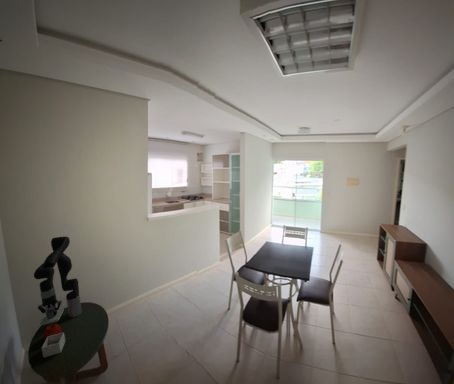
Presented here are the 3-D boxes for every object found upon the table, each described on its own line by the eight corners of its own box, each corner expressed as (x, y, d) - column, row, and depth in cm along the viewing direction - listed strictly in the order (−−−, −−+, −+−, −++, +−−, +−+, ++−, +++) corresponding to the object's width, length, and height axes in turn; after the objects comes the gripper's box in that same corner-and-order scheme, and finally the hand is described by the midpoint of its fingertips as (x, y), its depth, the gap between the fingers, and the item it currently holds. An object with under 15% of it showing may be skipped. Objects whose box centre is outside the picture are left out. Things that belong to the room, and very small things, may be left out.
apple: (43, 337, 162) (40, 326, 161) (60, 329, 170) (58, 317, 169) (45, 346, 155) (43, 333, 154) (63, 336, 163) (61, 325, 161)
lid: (46, 315, 153) (45, 306, 151) (64, 311, 156) (62, 303, 155) (40, 326, 143) (38, 317, 142) (58, 322, 147) (57, 313, 145)
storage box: (49, 345, 156) (47, 336, 154) (65, 341, 159) (63, 332, 158) (43, 357, 146) (41, 348, 145) (60, 352, 150) (59, 343, 149)
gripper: (62, 288, 152) (65, 309, 155) (38, 293, 147) (42, 315, 150) (58, 295, 145) (62, 316, 148) (33, 300, 140) (37, 322, 143)
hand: (52, 315), depth 149 cm, fingers closed on lid, 3 cm apart
